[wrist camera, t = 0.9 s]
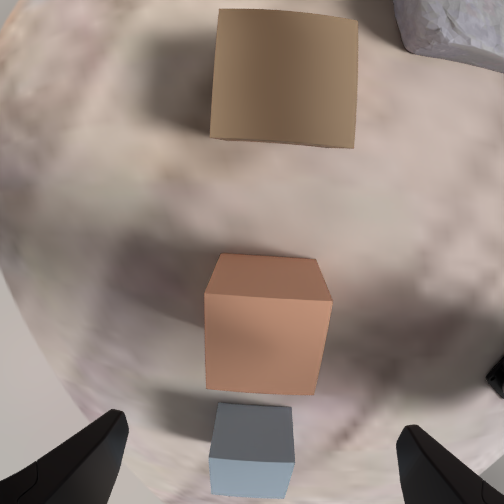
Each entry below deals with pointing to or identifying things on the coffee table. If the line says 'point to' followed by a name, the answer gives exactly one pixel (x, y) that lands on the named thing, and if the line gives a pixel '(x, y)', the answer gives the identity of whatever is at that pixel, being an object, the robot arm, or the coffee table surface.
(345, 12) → the coffee table surface
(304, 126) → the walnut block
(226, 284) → the terracotta block
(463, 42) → the stone block
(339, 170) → the coffee table surface
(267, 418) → the slate blue block
